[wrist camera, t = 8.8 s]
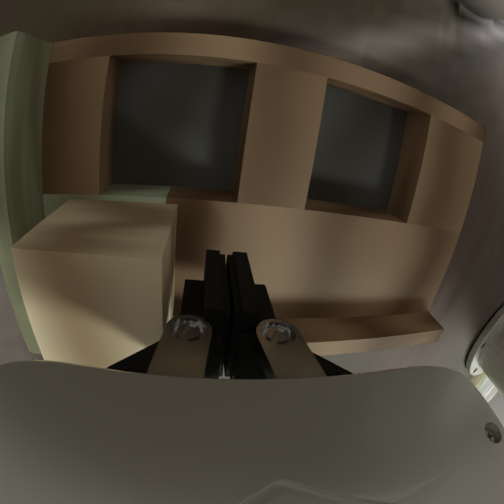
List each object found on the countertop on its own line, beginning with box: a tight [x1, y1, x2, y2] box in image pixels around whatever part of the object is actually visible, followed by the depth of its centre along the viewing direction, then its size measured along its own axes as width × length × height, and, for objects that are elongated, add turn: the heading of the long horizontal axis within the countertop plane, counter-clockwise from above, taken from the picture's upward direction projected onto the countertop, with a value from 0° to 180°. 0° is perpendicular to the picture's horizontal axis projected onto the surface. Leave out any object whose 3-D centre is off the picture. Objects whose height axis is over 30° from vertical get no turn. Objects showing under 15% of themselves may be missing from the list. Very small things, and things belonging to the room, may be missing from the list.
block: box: [11, 199, 178, 368], centre depth 10 cm, size 5×5×5 cm
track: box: [0, 31, 486, 356], centre depth 13 cm, size 24×14×6 cm, turn 82°
